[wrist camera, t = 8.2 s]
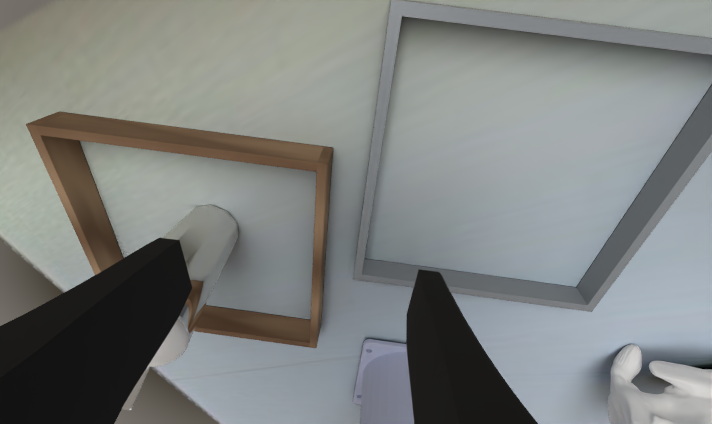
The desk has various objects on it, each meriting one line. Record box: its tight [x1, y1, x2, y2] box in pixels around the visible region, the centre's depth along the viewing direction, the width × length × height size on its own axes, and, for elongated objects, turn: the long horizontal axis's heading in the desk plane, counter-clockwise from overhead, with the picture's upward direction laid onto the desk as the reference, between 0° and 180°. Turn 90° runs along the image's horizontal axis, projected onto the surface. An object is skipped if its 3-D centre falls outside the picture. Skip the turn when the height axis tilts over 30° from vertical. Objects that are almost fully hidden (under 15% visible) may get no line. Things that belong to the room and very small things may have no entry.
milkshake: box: [122, 205, 238, 410], centre depth 18 cm, size 4×5×10 cm
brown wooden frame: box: [26, 112, 333, 348], centre depth 22 cm, size 15×15×2 cm
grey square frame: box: [353, 0, 712, 312], centre depth 18 cm, size 15×15×2 cm
